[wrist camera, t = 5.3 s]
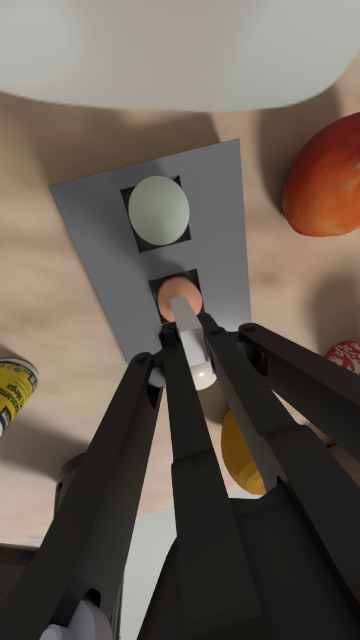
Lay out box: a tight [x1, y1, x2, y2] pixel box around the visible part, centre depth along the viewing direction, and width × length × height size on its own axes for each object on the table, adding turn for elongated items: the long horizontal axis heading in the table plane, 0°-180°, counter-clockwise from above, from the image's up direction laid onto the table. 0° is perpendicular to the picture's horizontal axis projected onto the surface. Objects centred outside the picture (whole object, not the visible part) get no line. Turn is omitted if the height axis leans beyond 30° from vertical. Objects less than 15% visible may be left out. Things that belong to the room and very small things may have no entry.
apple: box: [221, 409, 266, 495], centre depth 31 cm, size 13×13×11 cm
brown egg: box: [158, 274, 202, 322], centre depth 21 cm, size 4×4×4 cm
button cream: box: [190, 356, 217, 390], centre depth 23 cm, size 4×4×4 cm
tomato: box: [282, 112, 360, 237], centre depth 18 cm, size 9×9×8 cm
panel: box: [48, 138, 251, 388], centre depth 22 cm, size 16×24×4 cm, turn 13°
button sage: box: [129, 176, 189, 245], centre depth 16 cm, size 4×4×4 cm
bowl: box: [328, 445, 360, 487], centre depth 42 cm, size 19×19×10 cm
